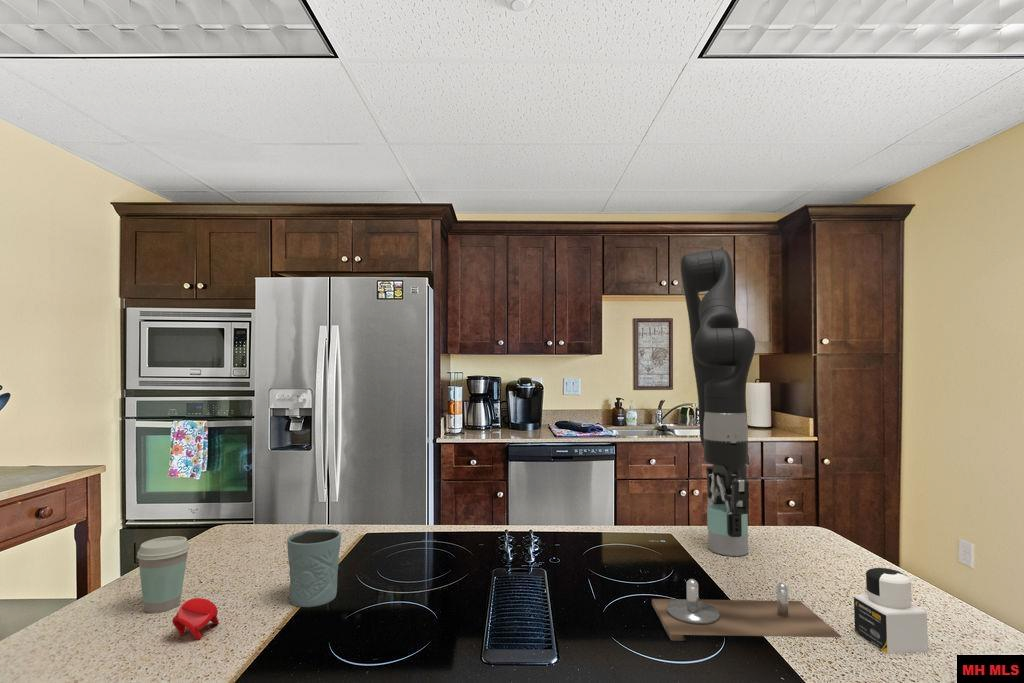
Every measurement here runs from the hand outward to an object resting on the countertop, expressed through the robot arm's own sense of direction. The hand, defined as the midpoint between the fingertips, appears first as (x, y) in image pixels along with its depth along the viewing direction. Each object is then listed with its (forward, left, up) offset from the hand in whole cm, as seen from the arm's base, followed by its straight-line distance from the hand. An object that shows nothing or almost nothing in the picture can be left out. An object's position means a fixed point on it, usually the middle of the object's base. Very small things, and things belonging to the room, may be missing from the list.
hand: (727, 530), depth 98 cm
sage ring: (0, 0, 0) cm, 0 cm away
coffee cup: (-3, -105, -16) cm, 107 cm away
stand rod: (-1, +10, -16) cm, 19 cm away
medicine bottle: (+8, +23, -16) cm, 29 cm away
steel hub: (-1, -6, -16) cm, 17 cm away
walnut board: (0, +2, -16) cm, 16 cm away
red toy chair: (+8, -92, -16) cm, 94 cm away
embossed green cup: (-8, -78, -16) cm, 80 cm away
